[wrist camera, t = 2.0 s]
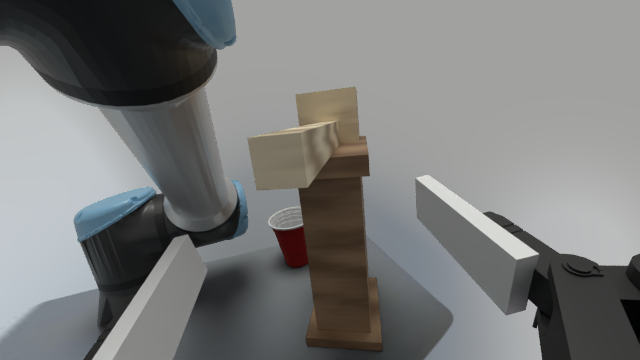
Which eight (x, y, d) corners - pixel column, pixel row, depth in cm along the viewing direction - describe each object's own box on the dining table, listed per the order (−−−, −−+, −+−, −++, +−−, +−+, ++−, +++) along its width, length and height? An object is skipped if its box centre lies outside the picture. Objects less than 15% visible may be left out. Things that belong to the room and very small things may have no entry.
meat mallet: (311, 140, 41) (306, 97, 39) (359, 136, 39) (356, 91, 38) (217, 192, 14) (189, 64, 12) (353, 185, 13) (342, 38, 11)
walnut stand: (321, 283, 49) (304, 141, 42) (376, 284, 47) (368, 135, 40) (297, 385, 31) (259, 162, 24) (386, 394, 29) (374, 154, 21)
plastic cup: (265, 267, 57) (257, 220, 54) (295, 245, 65) (289, 204, 62) (301, 281, 51) (293, 229, 48) (328, 255, 59) (323, 209, 56)
